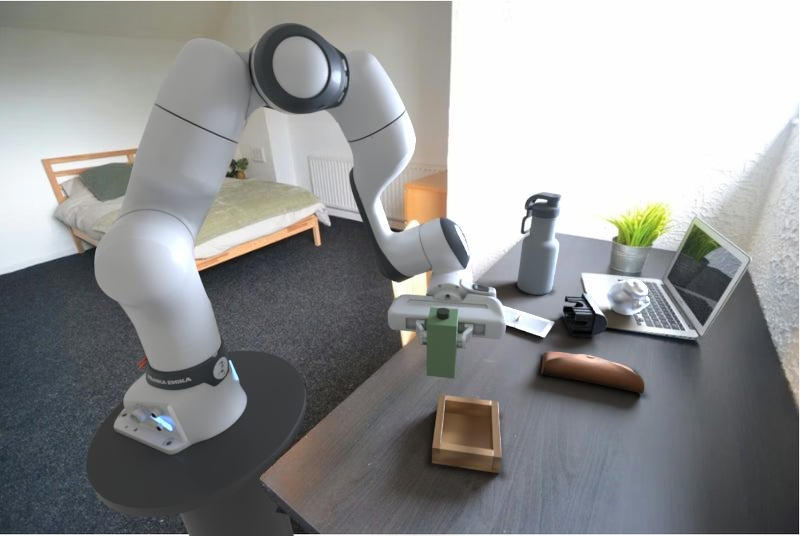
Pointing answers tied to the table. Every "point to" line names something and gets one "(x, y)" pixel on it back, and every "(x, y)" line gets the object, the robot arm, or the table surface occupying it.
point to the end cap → (584, 316)
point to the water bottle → (539, 244)
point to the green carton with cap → (442, 342)
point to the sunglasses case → (591, 370)
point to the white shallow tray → (527, 322)
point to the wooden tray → (467, 434)
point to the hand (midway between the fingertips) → (442, 343)
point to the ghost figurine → (628, 297)
